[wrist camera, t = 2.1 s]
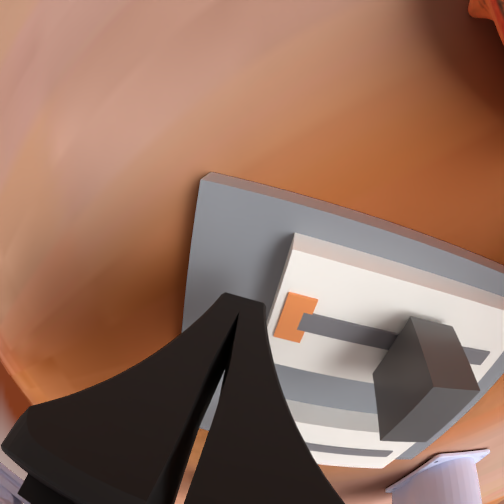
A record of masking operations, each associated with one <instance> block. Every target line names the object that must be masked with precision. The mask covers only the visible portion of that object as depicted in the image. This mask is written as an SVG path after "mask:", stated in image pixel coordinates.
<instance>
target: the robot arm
mask: <svg viewBox="0 0 504 504" xmlns="http://www.w3.org/2000/svg"><path fill="white" fill-rule="evenodd" d="M224 370H225V372H224ZM223 372H224V377H223V381H222V386H221V391H220V396H219V401H218V405H217V408H216V412H215V415H214V418H213V421H212V424H211V427H210V430H209V433H208V436H207V439H206V442H205V445H204V447H203V450H202V453H201V456H200V459H199V462H198V465H197V468H196V471H195V474H194V476H193V479H192V482H191V485H190V488H189V491H188V494H187V496H186V499H185V502H184V504H345V503H344V502H343V500H342V499H341V498H340V497H339V495H338V494H337V493H336V491H335V490H334V488H333V487H332V486H331V484H330V483H329V481H328V480H327V478H326V477H325V475H324V474H323V472H322V471H321V469H320V467H319V466H318V464H317V463H316V461H315V459H314V458H313V456H312V454H311V452H310V450H309V449H308V447H307V445H306V443H305V441H304V439H303V437H302V435H301V433H300V432H299V430H298V428H297V425H296V423H295V421H294V419H293V416H292V414H291V412H290V409H289V407H288V404H287V402H286V399H285V397H284V394H283V391H282V388H281V385H280V382H279V379H278V375H277V372H276V368H275V365H274V361H273V357H272V352H271V347H270V343H269V337H268V330H267V322H266V306H265V304H264V303H263V302H259V301H255V300H252V299H248V298H244V297H241V296H237V295H234V294H230V293H227V292H225V293H223V294H221V295H220V297H219V298H218V299H217V300H216V301H215V302H214V304H213V305H212V306H211V307H210V308H209V309H208V310H207V311H206V312H205V313H204V314H203V315H202V316H201V317H200V318H198V319H197V320H196V321H195V322H194V323H193V324H192V325H191V326H189V327H188V328H187V329H186V330H185V331H184V332H182V333H181V334H180V335H179V336H177V337H176V338H175V339H173V340H172V341H171V342H169V343H168V344H167V345H166V346H164V347H163V348H161V349H160V350H158V351H157V352H156V353H154V354H153V355H151V356H149V357H148V358H146V359H145V360H143V361H141V362H140V363H138V364H136V365H135V366H133V367H131V368H129V369H127V370H126V371H124V372H122V373H120V374H118V375H116V376H114V377H112V378H110V379H108V380H106V381H104V382H101V383H99V384H96V385H94V386H92V387H89V388H87V389H84V390H82V391H79V392H77V393H74V394H71V395H68V396H65V397H62V398H58V399H55V400H52V401H48V402H44V403H41V404H37V405H33V406H30V407H29V408H28V409H27V410H26V411H25V412H24V413H23V414H22V415H21V416H20V418H19V419H18V420H17V422H16V423H15V425H14V426H13V428H12V429H11V431H10V432H9V434H8V435H7V437H6V438H5V440H4V441H3V443H2V444H1V448H2V450H3V451H4V452H5V454H7V455H8V456H9V457H10V458H11V459H12V460H13V461H14V462H15V463H16V464H18V465H19V466H20V467H21V468H22V469H24V470H25V471H26V472H27V473H28V475H27V477H26V479H25V480H24V481H23V480H22V479H21V478H20V477H18V476H17V475H16V474H14V473H13V472H12V471H11V470H9V469H8V468H7V467H6V466H4V465H3V464H2V463H1V462H0V504H23V503H24V504H174V503H175V500H176V496H177V493H178V490H179V487H180V484H181V481H182V478H183V475H184V472H185V469H186V466H187V462H188V459H189V456H190V453H191V450H192V447H193V444H194V441H195V438H196V435H197V432H198V430H199V427H200V425H201V422H202V420H203V418H204V416H205V413H206V411H207V409H208V407H209V404H210V402H211V400H212V398H213V395H214V393H215V391H216V389H217V386H218V384H219V382H220V379H221V377H222V375H223ZM489 453H490V449H484V450H477V451H468V452H457V453H444V454H438V455H436V456H435V457H433V458H432V459H431V460H429V461H428V462H426V463H425V464H424V465H422V466H421V467H419V468H418V469H416V470H415V471H413V472H412V473H410V474H409V475H407V476H406V477H404V478H403V479H401V480H400V481H398V482H396V483H395V484H393V485H391V486H390V487H388V488H386V489H385V492H386V493H391V492H392V504H482V499H481V492H480V486H479V480H478V475H477V470H476V465H475V464H476V463H477V462H478V461H480V460H481V459H482V458H484V457H485V456H486V455H488V454H489ZM22 502H23V503H22Z"/></svg>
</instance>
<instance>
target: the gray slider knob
mask: <svg viewBox="0 0 504 504" xmlns="http://www.w3.org/2000/svg"><path fill="white" fill-rule="evenodd" d="M372 375H373V382H374V389H375V397H376V406H377V415H378V425H379V435H380V441H392V442H427V441H428V440H429V439H430V438H432V437H433V436H434V435H435V434H436V433H437V432H439V431H440V430H441V429H442V428H443V427H444V426H445V425H446V424H448V423H449V422H450V421H451V420H452V419H453V418H454V417H455V416H456V415H457V414H458V413H459V412H460V411H461V410H462V409H463V408H464V407H465V406H466V405H467V404H468V403H469V402H470V401H471V400H472V399H473V398H474V397H475V396H476V395H477V394H478V393H479V392H480V388H479V386H478V383H477V380H476V378H475V375H474V373H473V371H472V368H471V366H470V363H469V361H468V359H467V356H466V354H465V352H464V350H463V347H462V345H461V343H460V341H459V339H458V337H457V334H456V332H455V330H454V328H453V326H450V325H445V324H441V323H437V322H433V321H428V320H424V319H420V318H416V317H412V316H410V317H409V319H408V321H407V322H406V324H405V326H404V327H403V329H402V330H401V332H400V333H399V335H398V337H397V338H396V340H395V341H394V343H393V344H392V346H391V347H390V349H389V350H388V352H387V353H386V355H385V356H384V358H383V359H382V361H381V362H380V363H379V365H378V366H377V368H376V369H375V371H374V372H373V373H372Z"/></svg>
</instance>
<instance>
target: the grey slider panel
mask: <svg viewBox="0 0 504 504" xmlns="http://www.w3.org/2000/svg"><path fill="white" fill-rule="evenodd" d="M225 292H227V293H230V294H234V295H237V296H241V297H244V298H248V299H252V300H255V301H259V302H263V303H264V304H265V306H266V322H267V330H268V337H269V343H270V347H271V352H272V357H273V361H274V365H275V368H276V372H277V375H278V379H279V382H280V385H281V388H282V391H283V394H284V397H285V399H286V402H287V404H288V407H289V409H290V412H291V414H292V416H293V419H294V421H295V423H296V425H297V428H298V430H299V432H300V433H301V435H302V437H303V439H304V441H305V443H306V445H307V447H308V449H309V450H310V452H311V454H312V456H313V458H314V459H315V461H316V463H317V464H323V465H332V466H344V467H359V468H383V467H385V466H386V465H388V464H389V463H390V462H392V461H393V460H394V459H412V458H414V457H415V456H416V455H418V454H419V453H420V452H422V451H423V450H424V449H425V448H427V447H428V446H429V445H430V444H432V443H433V442H434V441H435V440H437V439H438V438H439V437H440V436H441V435H442V434H444V433H445V432H446V431H447V430H448V429H449V428H450V427H452V426H453V425H454V424H455V423H456V422H457V421H458V420H459V419H460V418H461V417H462V416H464V415H465V414H466V413H467V412H468V411H469V410H470V409H471V408H472V407H473V406H474V405H475V404H476V403H477V402H478V401H479V400H480V399H481V398H482V396H483V395H484V394H485V393H486V392H487V391H488V390H489V389H490V388H491V387H492V386H493V385H494V383H495V382H496V381H497V380H498V379H499V378H500V377H501V375H502V374H503V373H504V265H502V264H499V263H497V262H495V261H492V260H490V259H487V258H485V257H483V256H480V255H478V254H475V253H473V252H470V251H468V250H465V249H463V248H460V247H458V246H455V245H452V244H450V243H447V242H445V241H442V240H439V239H437V238H434V237H431V236H429V235H426V234H423V233H420V232H417V231H415V230H412V229H409V228H406V227H403V226H400V225H397V224H395V223H392V222H389V221H386V220H383V219H380V218H377V217H374V216H370V215H367V214H364V213H361V212H358V211H355V210H352V209H348V208H345V207H342V206H339V205H335V204H332V203H329V202H325V201H322V200H318V199H315V198H311V197H308V196H304V195H301V194H297V193H294V192H290V191H286V190H283V189H279V188H275V187H271V186H267V185H264V184H260V183H256V182H252V181H248V180H244V179H240V178H236V177H231V176H227V175H223V174H219V173H214V172H210V173H209V174H207V175H206V176H204V177H203V178H202V179H201V180H200V186H199V192H198V199H197V206H196V212H195V219H194V227H193V234H192V241H191V249H190V257H189V265H188V274H187V283H186V292H185V302H184V312H183V323H182V332H184V331H185V330H186V329H187V328H188V327H189V326H191V325H192V324H193V323H194V322H195V321H196V320H197V319H198V318H200V317H201V316H202V315H203V314H204V313H205V312H206V311H207V310H208V309H209V308H210V307H211V306H212V305H213V304H214V302H215V301H216V300H217V299H218V298H219V297H220V295H221V294H223V293H225ZM410 316H412V317H416V318H420V319H424V320H428V321H433V322H437V323H441V324H445V325H450V326H453V328H454V330H455V332H456V334H457V337H458V339H459V341H460V343H461V345H462V347H463V350H464V352H465V354H466V356H467V359H468V361H469V363H470V366H471V368H472V371H473V373H474V375H475V378H476V380H477V383H478V386H479V388H480V392H479V393H478V394H477V395H476V396H475V397H474V398H473V399H472V400H471V401H470V402H469V403H468V404H467V405H466V406H465V407H464V408H463V409H462V410H461V411H460V412H459V413H458V414H457V415H456V416H455V417H454V418H453V419H452V420H451V421H450V422H449V423H448V424H446V425H445V426H444V427H443V428H442V429H441V430H440V431H439V432H437V433H436V434H435V435H434V436H433V437H432V438H430V439H429V440H428V441H427V442H392V441H380V435H379V425H378V415H377V406H376V397H375V389H374V382H373V375H372V373H373V372H374V371H375V369H376V368H377V366H378V365H379V363H380V362H381V361H382V359H383V358H384V356H385V355H386V353H387V352H388V350H389V349H390V347H391V346H392V344H393V343H394V341H395V340H396V338H397V337H398V335H399V333H400V332H401V330H402V329H403V327H404V326H405V324H406V322H407V321H408V319H409V317H410ZM224 372H225V370H224ZM224 372H223V375H222V377H221V379H220V382H219V384H218V386H217V389H216V391H215V393H214V395H213V398H212V400H211V402H210V404H209V407H208V409H207V411H206V413H205V416H204V418H203V420H202V422H201V425H200V427H199V428H201V429H205V430H208V431H209V430H210V427H211V424H212V421H213V418H214V415H215V412H216V408H217V405H218V401H219V396H220V391H221V386H222V381H223V377H224Z"/></svg>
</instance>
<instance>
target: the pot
mask: <svg viewBox="0 0 504 504" xmlns="http://www.w3.org/2000/svg"><path fill="white" fill-rule="evenodd" d="M468 13H469V14H470V15H471V16H472V17H473V18H487V19H490V20H493V21H494V23H495V26H496V28H497V31H498V34H499V36H500V39H501V41H502V43H503V45H504V0H470V2H469V5H468Z"/></svg>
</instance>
